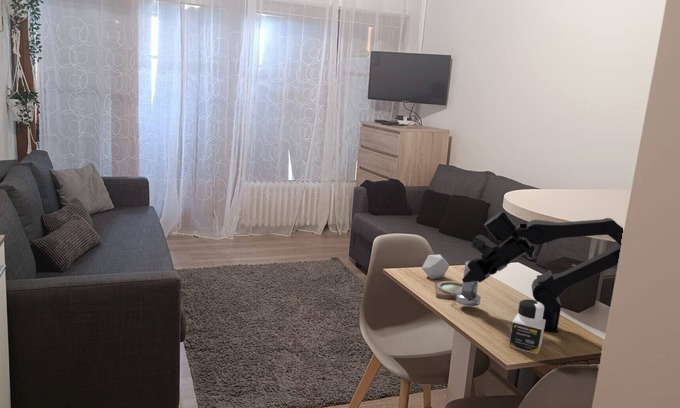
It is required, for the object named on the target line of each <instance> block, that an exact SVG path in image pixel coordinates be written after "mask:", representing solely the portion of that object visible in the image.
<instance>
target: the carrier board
mask: <svg viewBox="0 0 680 408" xmlns="http://www.w3.org/2000/svg"><path fill="white" fill-rule="evenodd" d="M462 285H463V282H460V281H454V280H444V281H434V288H435V297H436V298H439V299H447V300H454V301H456V296H457V293H458V292H462Z"/></svg>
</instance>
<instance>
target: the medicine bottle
mask: <svg viewBox="0 0 680 408" xmlns="http://www.w3.org/2000/svg"><path fill="white" fill-rule="evenodd" d="M518 304H519V305H518V309H517V310H518V311H517V314H516V316H515V317H514V319H513V320H512V324H511V329H510V337H509V344H508V346H509V348H512V349H516V350H520V351H523V352H527V353H531V354H533V355H534V354H535V355H538V354H539V352H540V349H541V347H542V344H543V340H544V333H545V330H544V327H545V321H546V320H545V319H543V313H544V306H543V304H541V303H540V302H538V301H536V300H535V299H523V300H520V301H519V303H518Z"/></svg>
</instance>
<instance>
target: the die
mask: <svg viewBox="0 0 680 408" xmlns="http://www.w3.org/2000/svg"><path fill="white" fill-rule="evenodd" d="M449 267H450V264H449V263H448V262H447V261H446V259H445V258H444V257H443V255H442V254H439V253H438V254H430V255H429V254H428V256H427V258H426V259H425V261H424V262H423V264H422V266H421V270H423V271H424V273H425V274H426V275H427V277H429V279H430V280H436V279H443V278H444V276H445V275H446V273H447V271H448V269H449Z"/></svg>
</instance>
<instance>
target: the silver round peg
mask: <svg viewBox="0 0 680 408" xmlns="http://www.w3.org/2000/svg"><path fill="white" fill-rule="evenodd" d="M471 261H472V260H466V261H465V265H464V270H463V271H464V272H463V278H464V277H465V276H466V274H467V273H468V272H469V271H470V269H469V267H468V266H467V264H468V263H469V262H471ZM463 278H462V279H463ZM462 283H463V285H462V292H458V293H457V296H456V300H455V301H456V302H457V303H459V304H460V305H464V306H469V307H476V306H479V305H480V304H481V299H482V297H481V296H480V295H479V294H478V287H479V286H478V285H479V282H478V281H472V282H465V283H464V282H463V281H462Z"/></svg>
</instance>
